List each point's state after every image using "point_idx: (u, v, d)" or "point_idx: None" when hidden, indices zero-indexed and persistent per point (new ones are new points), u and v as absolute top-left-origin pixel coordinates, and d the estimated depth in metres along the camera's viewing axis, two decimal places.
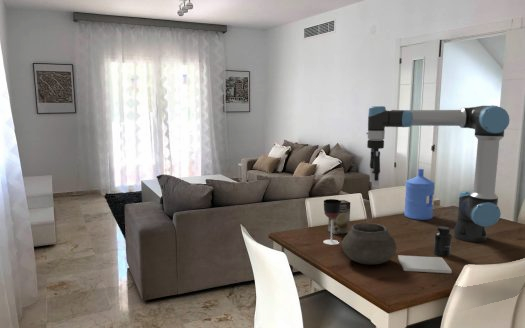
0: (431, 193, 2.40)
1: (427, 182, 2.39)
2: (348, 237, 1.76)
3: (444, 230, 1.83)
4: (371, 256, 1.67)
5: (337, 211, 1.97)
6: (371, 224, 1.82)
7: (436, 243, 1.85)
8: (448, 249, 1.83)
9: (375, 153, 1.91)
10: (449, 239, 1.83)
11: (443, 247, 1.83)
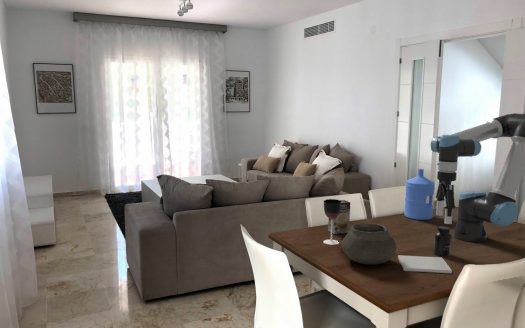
0: (431, 193, 2.40)
1: (427, 182, 2.39)
2: (348, 237, 1.76)
3: (444, 230, 1.83)
4: (371, 256, 1.67)
5: (337, 211, 1.97)
6: (371, 224, 1.82)
7: (436, 243, 1.85)
8: (448, 249, 1.83)
9: (449, 187, 1.76)
10: (449, 239, 1.83)
11: (443, 247, 1.83)
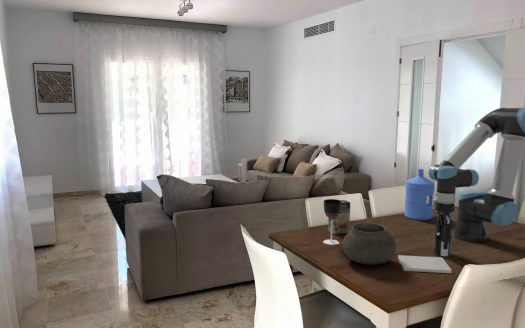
0: (431, 193, 2.40)
1: (427, 182, 2.39)
2: (348, 237, 1.76)
3: None
4: (371, 256, 1.67)
5: (337, 211, 1.97)
6: (371, 224, 1.82)
7: (436, 243, 1.85)
8: (448, 249, 1.83)
9: (447, 221, 1.78)
10: None
11: None
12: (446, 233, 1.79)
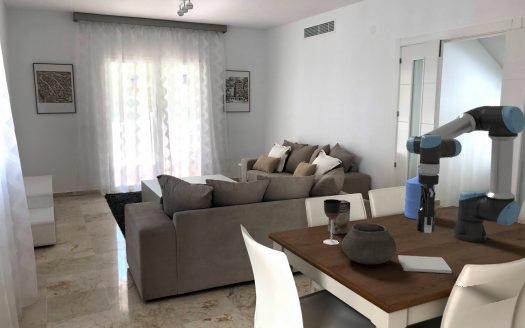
0: None
1: None
2: (348, 237, 1.76)
3: None
4: (371, 256, 1.67)
5: (337, 211, 1.97)
6: (371, 224, 1.82)
7: (419, 219, 1.70)
8: None
9: (430, 194, 1.63)
10: None
11: None
12: (429, 207, 1.64)
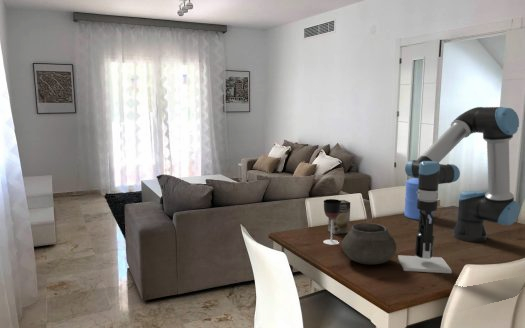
0: None
1: None
2: (348, 237, 1.76)
3: None
4: (371, 256, 1.67)
5: (337, 211, 1.97)
6: (371, 224, 1.82)
7: (417, 244, 1.71)
8: (430, 250, 1.70)
9: (428, 221, 1.65)
10: None
11: None
12: (428, 234, 1.65)
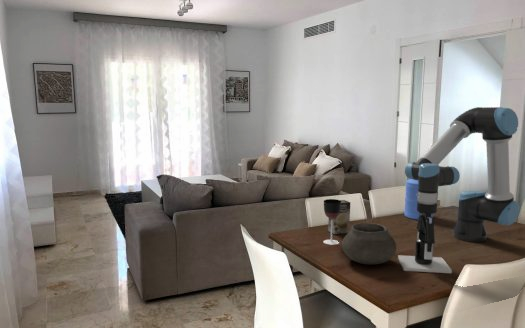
0: None
1: None
2: (348, 237, 1.76)
3: None
4: (371, 256, 1.67)
5: (337, 211, 1.97)
6: (371, 224, 1.82)
7: (417, 250, 1.72)
8: None
9: (428, 220, 1.64)
10: None
11: (424, 254, 1.70)
12: (429, 233, 1.63)
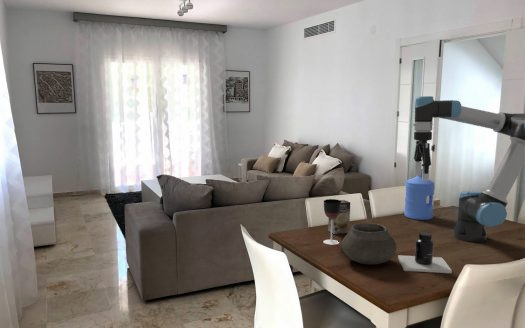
0: (431, 193, 2.40)
1: (427, 182, 2.39)
2: (348, 237, 1.76)
3: (425, 236, 1.70)
4: (371, 256, 1.67)
5: (337, 211, 1.97)
6: (371, 224, 1.82)
7: (417, 250, 1.72)
8: (429, 257, 1.70)
9: (425, 145, 1.84)
10: (431, 246, 1.70)
11: (425, 255, 1.70)
12: (426, 156, 1.83)
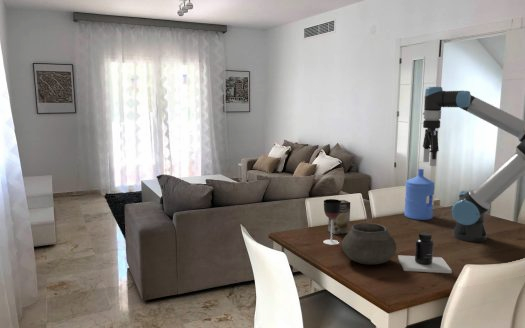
0: (431, 193, 2.40)
1: (427, 182, 2.39)
2: (348, 237, 1.76)
3: (425, 236, 1.70)
4: (371, 256, 1.67)
5: (337, 211, 1.97)
6: (371, 224, 1.82)
7: (417, 250, 1.72)
8: (429, 257, 1.70)
9: (433, 132, 1.96)
10: (431, 246, 1.70)
11: (425, 255, 1.70)
12: (434, 143, 1.95)
